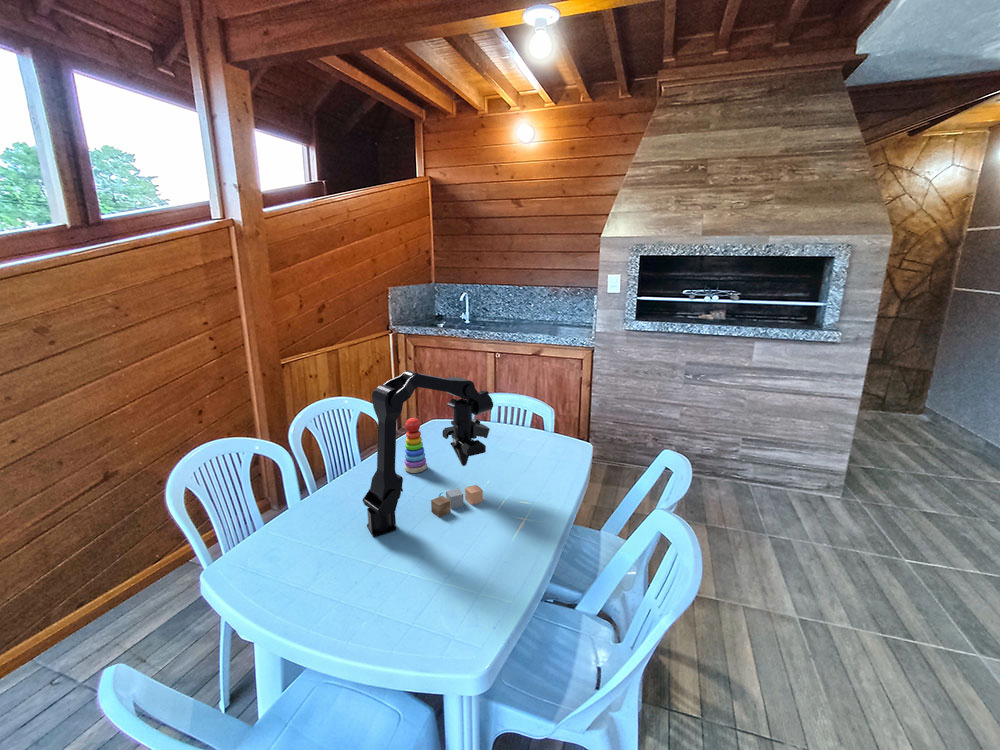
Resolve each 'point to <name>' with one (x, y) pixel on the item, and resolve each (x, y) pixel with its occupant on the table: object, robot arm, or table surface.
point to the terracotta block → (473, 494)
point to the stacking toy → (414, 448)
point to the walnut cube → (440, 506)
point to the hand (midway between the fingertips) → (464, 465)
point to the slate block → (455, 498)
